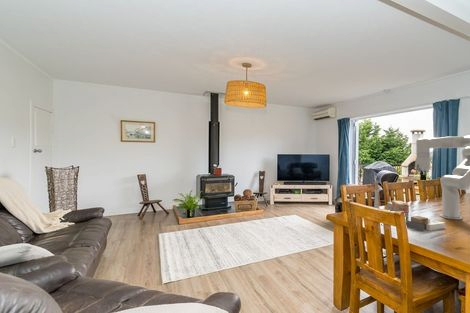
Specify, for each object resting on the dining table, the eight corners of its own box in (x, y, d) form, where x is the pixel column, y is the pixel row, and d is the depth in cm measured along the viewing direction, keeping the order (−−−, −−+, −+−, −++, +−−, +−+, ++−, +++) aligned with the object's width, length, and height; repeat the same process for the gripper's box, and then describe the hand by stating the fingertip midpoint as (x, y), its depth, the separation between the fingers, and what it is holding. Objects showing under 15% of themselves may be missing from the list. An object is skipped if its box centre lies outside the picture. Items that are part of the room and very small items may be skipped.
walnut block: (418, 226, 156) (418, 215, 156) (428, 228, 150) (428, 218, 150) (410, 227, 154) (410, 216, 154) (420, 230, 148) (420, 219, 148)
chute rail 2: (441, 227, 153) (441, 221, 153) (445, 228, 151) (445, 222, 151) (426, 229, 149) (426, 224, 149) (429, 230, 147) (429, 224, 147)
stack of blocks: (386, 213, 189) (387, 198, 189) (395, 213, 187) (395, 198, 187) (398, 220, 168) (398, 203, 168) (408, 221, 167) (408, 204, 166)
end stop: (407, 226, 156) (407, 220, 156) (423, 230, 146) (423, 224, 146) (405, 226, 155) (406, 220, 155) (421, 231, 146) (421, 224, 146)
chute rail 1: (427, 223, 162) (427, 218, 162) (430, 223, 160) (430, 218, 160) (412, 225, 158) (412, 220, 158) (415, 226, 156) (415, 220, 156)
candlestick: (367, 218, 174) (368, 178, 173) (388, 221, 166) (388, 179, 165) (364, 222, 164) (364, 180, 163) (385, 226, 156) (386, 181, 155)
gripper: (424, 154, 177) (424, 178, 177) (410, 155, 172) (410, 180, 173) (435, 155, 170) (435, 180, 170) (421, 155, 165) (421, 181, 166)
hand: (423, 180), depth 172 cm, fingers closed
